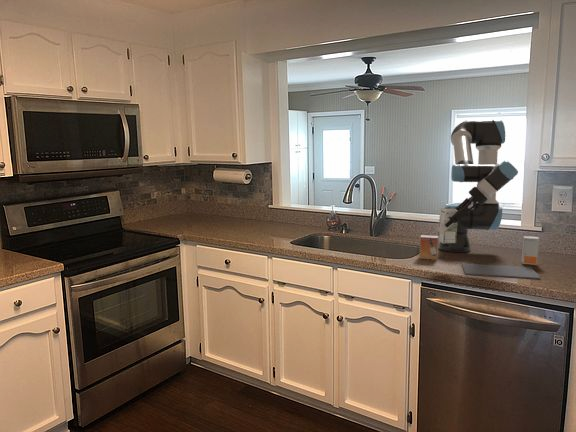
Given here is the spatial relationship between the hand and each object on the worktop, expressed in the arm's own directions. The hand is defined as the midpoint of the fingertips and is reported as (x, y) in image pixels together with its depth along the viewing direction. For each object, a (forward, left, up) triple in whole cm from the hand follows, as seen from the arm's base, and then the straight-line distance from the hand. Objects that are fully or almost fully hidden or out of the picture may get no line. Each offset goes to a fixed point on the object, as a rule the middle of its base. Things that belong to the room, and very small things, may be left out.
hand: (439, 229), depth 200 cm
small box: (-17, -3, -17) cm, 24 cm away
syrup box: (0, +4, -6) cm, 7 cm away
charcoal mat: (0, +25, -17) cm, 30 cm away
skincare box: (-17, +40, -17) cm, 46 cm away
